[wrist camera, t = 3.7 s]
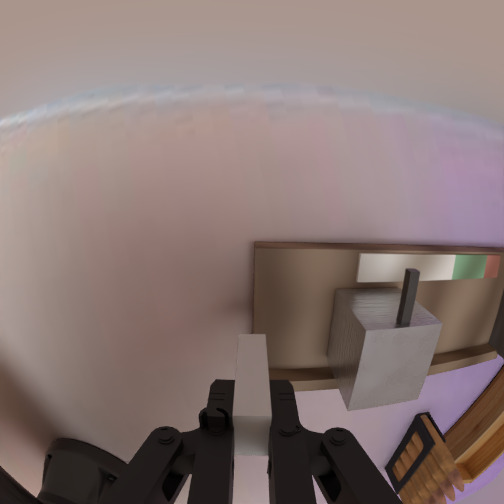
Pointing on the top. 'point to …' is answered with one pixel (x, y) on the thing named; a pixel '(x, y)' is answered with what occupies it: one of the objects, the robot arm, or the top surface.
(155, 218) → the top surface
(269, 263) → the brown tray with block
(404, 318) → the cube with dark rod
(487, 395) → the tray
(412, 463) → the ammunition clip
